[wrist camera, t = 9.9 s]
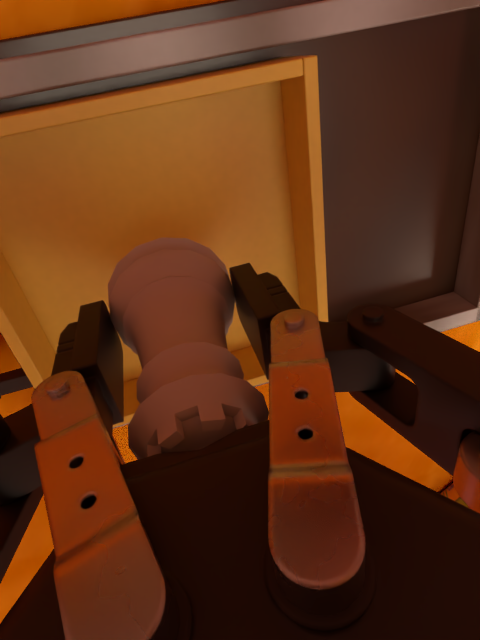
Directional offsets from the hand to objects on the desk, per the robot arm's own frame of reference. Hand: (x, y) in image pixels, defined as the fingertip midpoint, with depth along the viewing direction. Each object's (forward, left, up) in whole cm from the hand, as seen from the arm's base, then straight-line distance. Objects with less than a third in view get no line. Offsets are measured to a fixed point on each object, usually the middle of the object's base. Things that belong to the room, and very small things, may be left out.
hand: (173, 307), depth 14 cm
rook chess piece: (0, 0, -1) cm, 1 cm away
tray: (-2, 0, -5) cm, 5 cm away
